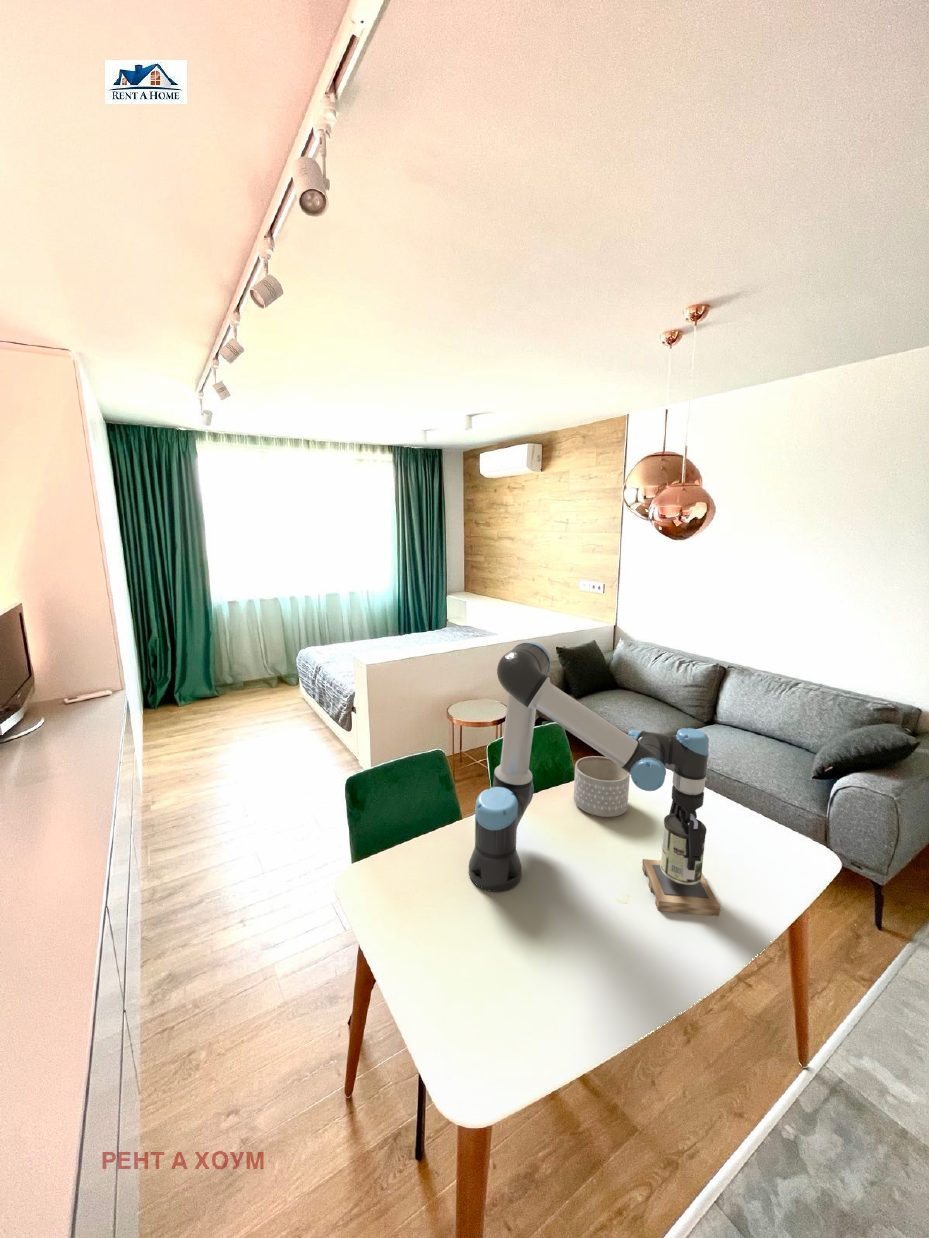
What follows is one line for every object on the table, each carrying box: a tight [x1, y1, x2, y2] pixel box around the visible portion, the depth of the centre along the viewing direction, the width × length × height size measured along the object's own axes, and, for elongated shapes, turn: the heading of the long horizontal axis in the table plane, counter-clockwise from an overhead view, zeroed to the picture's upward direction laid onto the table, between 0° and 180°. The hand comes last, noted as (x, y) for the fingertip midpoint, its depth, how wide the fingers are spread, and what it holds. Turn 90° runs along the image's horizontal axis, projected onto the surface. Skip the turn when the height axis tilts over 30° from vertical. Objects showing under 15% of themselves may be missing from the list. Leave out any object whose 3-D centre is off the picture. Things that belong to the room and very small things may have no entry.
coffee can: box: [660, 813, 707, 885], centre depth 125 cm, size 10×10×14 cm
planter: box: [573, 755, 631, 818], centre depth 167 cm, size 19×19×14 cm
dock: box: [641, 858, 722, 917], centre depth 127 cm, size 15×16×3 cm
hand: (681, 864), depth 126 cm, fingers closed on coffee can, 10 cm apart
